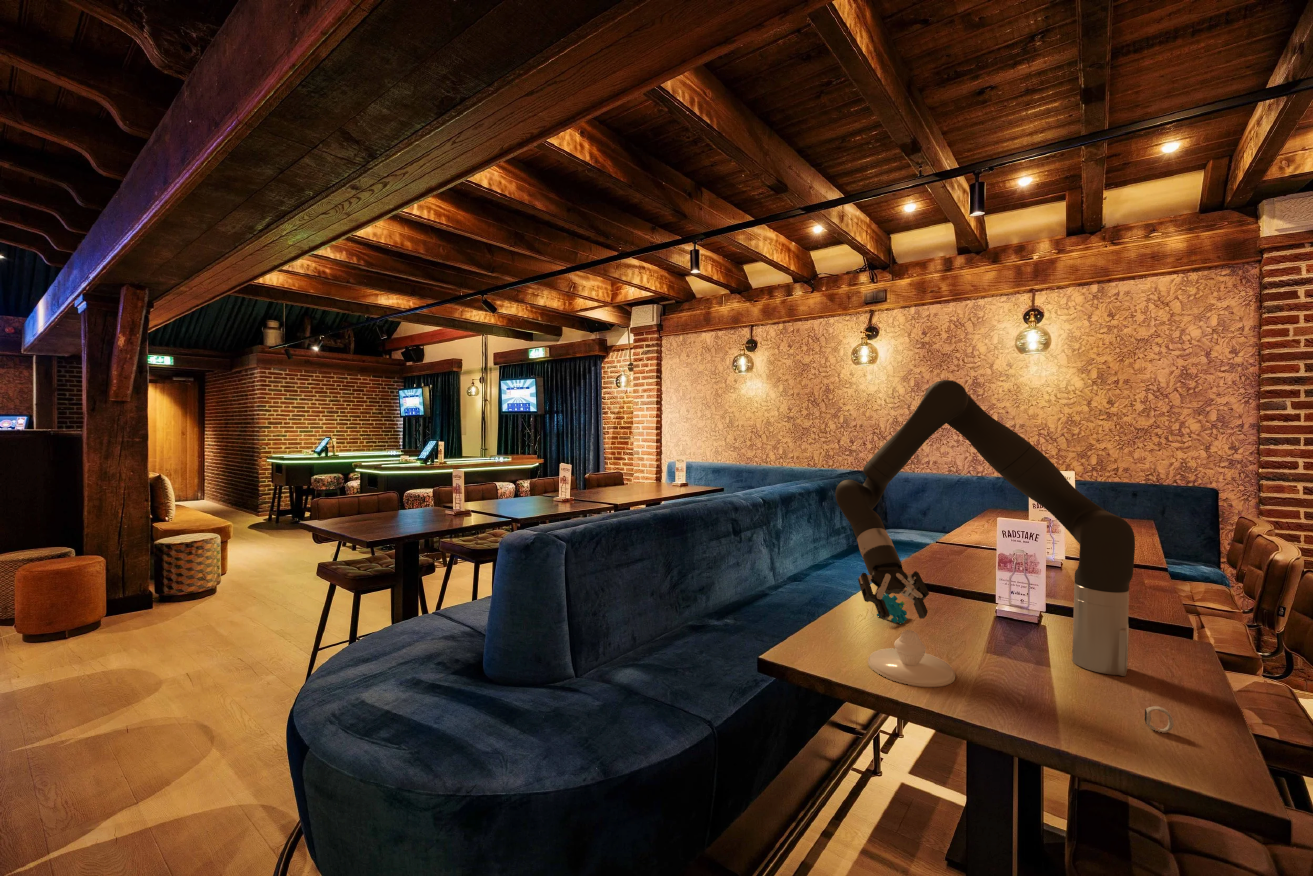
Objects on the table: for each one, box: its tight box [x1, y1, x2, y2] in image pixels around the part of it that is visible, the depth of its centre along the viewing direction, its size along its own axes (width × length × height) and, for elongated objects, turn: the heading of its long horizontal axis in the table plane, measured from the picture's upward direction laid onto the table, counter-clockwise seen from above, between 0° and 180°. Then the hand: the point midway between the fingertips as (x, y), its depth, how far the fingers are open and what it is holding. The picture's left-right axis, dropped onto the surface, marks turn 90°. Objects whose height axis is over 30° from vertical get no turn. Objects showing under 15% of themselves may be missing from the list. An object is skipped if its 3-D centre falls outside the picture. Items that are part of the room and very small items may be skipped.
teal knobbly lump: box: [876, 593, 908, 624], centre depth 151 cm, size 11×6×10 cm
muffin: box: [894, 629, 927, 666], centre depth 119 cm, size 6×6×7 cm
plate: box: [867, 647, 956, 688], centre depth 119 cm, size 17×17×1 cm
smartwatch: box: [1144, 705, 1175, 734], centre depth 96 cm, size 4×2×4 cm, turn 54°
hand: (905, 617), depth 121 cm, fingers open, 8 cm apart
